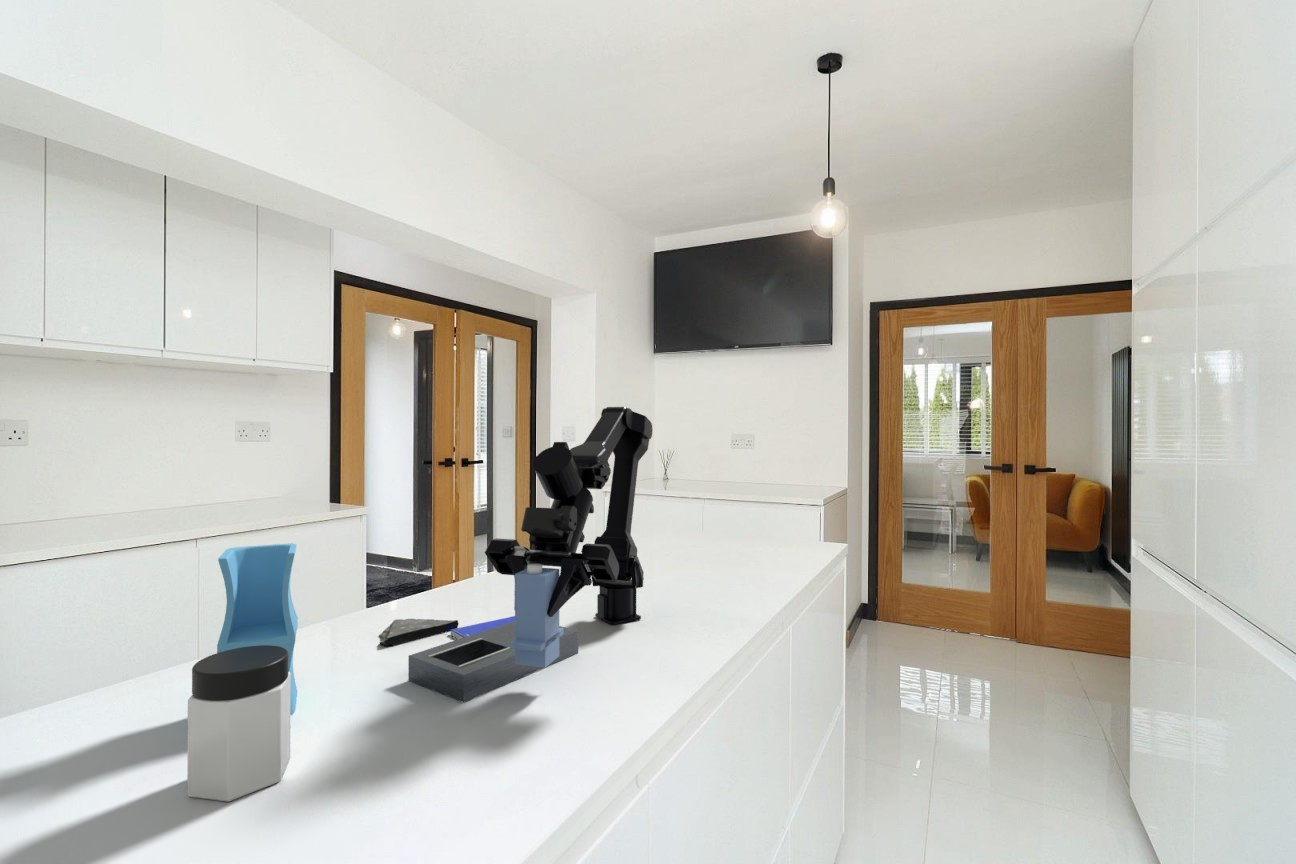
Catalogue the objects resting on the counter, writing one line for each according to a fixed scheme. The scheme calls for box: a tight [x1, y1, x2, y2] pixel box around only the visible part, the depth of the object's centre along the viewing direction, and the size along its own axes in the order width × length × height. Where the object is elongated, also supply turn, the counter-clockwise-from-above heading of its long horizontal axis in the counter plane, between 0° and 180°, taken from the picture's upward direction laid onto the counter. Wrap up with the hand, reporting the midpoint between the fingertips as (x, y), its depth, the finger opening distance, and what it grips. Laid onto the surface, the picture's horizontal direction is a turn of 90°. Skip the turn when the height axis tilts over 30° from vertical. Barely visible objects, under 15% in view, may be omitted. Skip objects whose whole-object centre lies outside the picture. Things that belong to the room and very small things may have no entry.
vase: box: [216, 542, 299, 716], centre depth 77 cm, size 8×8×20 cm
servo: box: [510, 564, 564, 669], centre depth 83 cm, size 7×4×13 cm, turn 164°
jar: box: [186, 645, 291, 803], centre depth 62 cm, size 9×8×12 cm
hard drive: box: [450, 615, 515, 640], centre depth 107 cm, size 2×8×12 cm
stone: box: [378, 618, 459, 646], centre depth 107 cm, size 13×10×2 cm
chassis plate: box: [408, 621, 579, 703], centre depth 92 cm, size 22×12×4 cm, turn 145°
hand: (532, 613), depth 82 cm, fingers closed on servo, 4 cm apart
